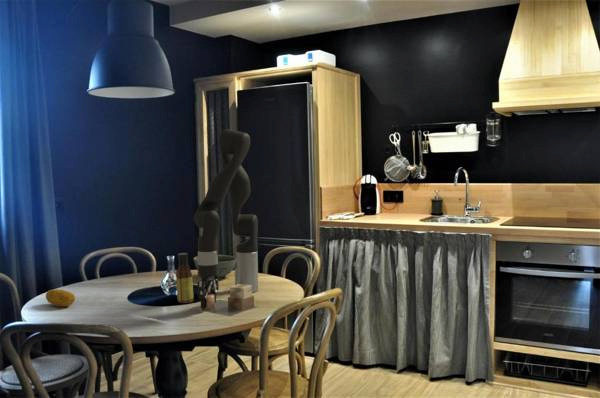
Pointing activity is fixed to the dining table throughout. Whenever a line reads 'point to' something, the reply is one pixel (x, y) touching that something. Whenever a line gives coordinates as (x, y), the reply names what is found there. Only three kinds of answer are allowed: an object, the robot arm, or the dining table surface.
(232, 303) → the walnut block
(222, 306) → the slate board
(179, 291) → the sauce bottle
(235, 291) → the birch block
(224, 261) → the bowl
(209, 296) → the pink cube
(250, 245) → the robot arm
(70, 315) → the dining table surface
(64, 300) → the potato
